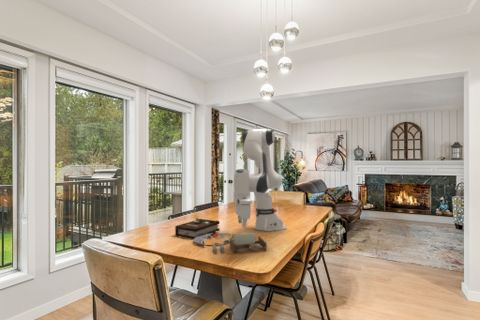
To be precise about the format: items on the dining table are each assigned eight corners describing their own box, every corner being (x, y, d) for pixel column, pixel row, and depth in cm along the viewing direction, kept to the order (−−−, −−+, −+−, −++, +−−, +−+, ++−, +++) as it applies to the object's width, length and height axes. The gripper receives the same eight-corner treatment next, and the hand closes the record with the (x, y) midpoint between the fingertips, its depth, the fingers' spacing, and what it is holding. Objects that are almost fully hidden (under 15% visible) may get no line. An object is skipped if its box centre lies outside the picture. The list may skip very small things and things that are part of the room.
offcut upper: (258, 245, 146) (258, 243, 146) (260, 247, 143) (260, 245, 143) (250, 246, 145) (250, 244, 145) (252, 248, 141) (252, 246, 141)
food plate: (216, 233, 180) (215, 228, 180) (243, 240, 166) (243, 234, 165) (186, 243, 161) (186, 237, 161) (214, 252, 146) (214, 245, 146)
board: (253, 245, 150) (253, 232, 150) (254, 246, 148) (254, 233, 148) (234, 247, 147) (234, 234, 147) (234, 248, 146) (234, 235, 146)
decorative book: (171, 225, 176) (201, 217, 201) (171, 237, 176) (201, 227, 201) (194, 228, 166) (222, 219, 191) (194, 241, 166) (222, 230, 191)
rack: (259, 246, 153) (259, 236, 153) (266, 253, 141) (266, 242, 141) (229, 248, 149) (229, 239, 149) (234, 255, 137) (234, 245, 137)
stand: (224, 250, 146) (224, 243, 146) (226, 255, 138) (226, 248, 138) (211, 251, 145) (211, 244, 145) (212, 256, 137) (212, 249, 137)
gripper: (232, 197, 157) (232, 221, 157) (240, 201, 137) (240, 229, 137) (243, 196, 158) (243, 220, 158) (252, 201, 138) (252, 228, 138)
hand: (242, 224), depth 147 cm, fingers open, 8 cm apart
